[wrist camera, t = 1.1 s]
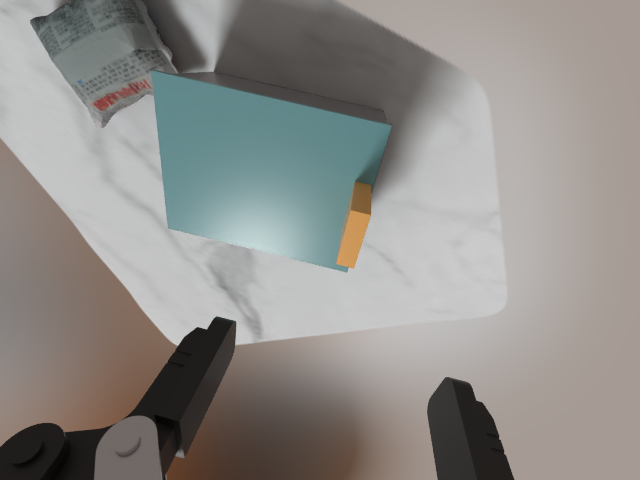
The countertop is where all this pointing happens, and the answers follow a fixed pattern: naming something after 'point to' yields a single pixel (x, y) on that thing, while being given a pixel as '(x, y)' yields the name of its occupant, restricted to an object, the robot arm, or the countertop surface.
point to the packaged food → (105, 52)
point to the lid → (266, 170)
